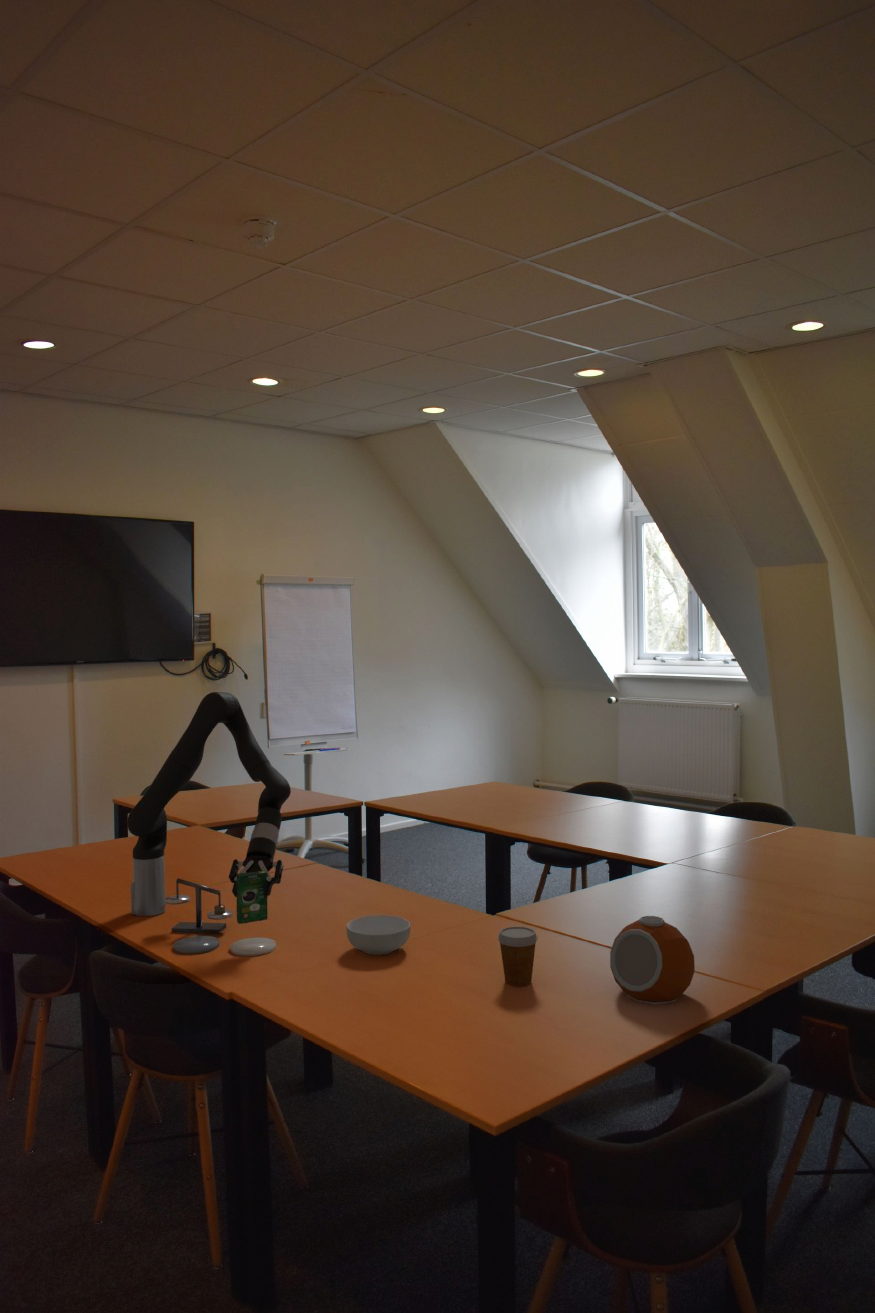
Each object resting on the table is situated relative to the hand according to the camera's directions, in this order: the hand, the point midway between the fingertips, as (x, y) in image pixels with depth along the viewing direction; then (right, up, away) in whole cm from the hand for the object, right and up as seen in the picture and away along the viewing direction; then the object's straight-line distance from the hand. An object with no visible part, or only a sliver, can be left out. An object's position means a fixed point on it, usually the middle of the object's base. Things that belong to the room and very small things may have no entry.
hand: (250, 896), depth 250 cm
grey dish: (-15, -15, +4) cm, 22 cm away
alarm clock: (+99, -14, -34) cm, 106 cm away
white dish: (0, -15, +2) cm, 15 cm away
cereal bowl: (+34, -14, -1) cm, 37 cm away
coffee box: (0, -7, +2) cm, 7 cm away
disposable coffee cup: (+69, -14, -25) cm, 75 cm away
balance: (-18, -14, +19) cm, 30 cm away
